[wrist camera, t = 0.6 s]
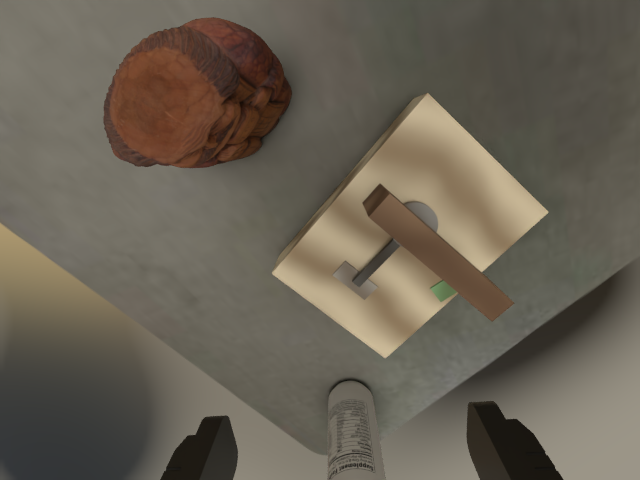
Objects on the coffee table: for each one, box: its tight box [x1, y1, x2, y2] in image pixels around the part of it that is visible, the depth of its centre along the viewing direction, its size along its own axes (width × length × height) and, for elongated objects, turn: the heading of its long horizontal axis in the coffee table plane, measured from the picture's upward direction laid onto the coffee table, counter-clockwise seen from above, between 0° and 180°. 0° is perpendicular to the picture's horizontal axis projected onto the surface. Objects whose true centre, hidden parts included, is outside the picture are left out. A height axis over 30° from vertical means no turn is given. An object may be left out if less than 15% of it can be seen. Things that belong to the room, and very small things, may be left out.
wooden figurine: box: [104, 17, 292, 168], centre depth 24 cm, size 12×6×18 cm, turn 139°
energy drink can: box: [328, 381, 386, 480], centre depth 37 cm, size 6×6×15 cm
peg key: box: [352, 184, 514, 321], centre depth 27 cm, size 10×12×9 cm
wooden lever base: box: [272, 93, 548, 358], centre depth 34 cm, size 22×16×5 cm
